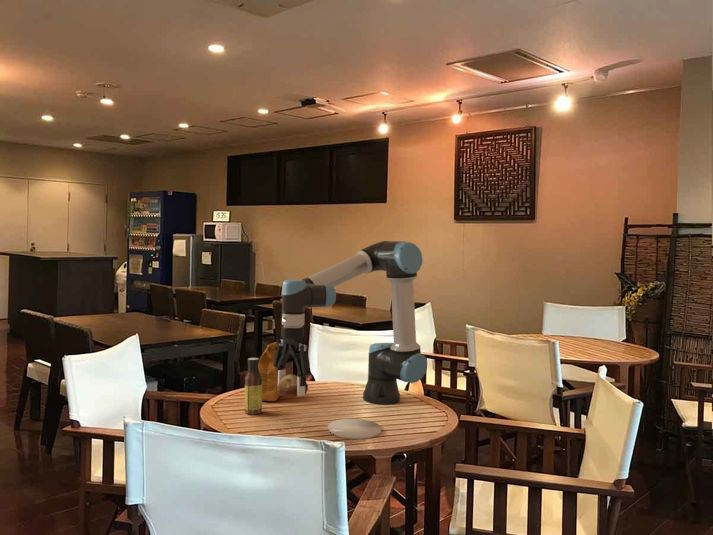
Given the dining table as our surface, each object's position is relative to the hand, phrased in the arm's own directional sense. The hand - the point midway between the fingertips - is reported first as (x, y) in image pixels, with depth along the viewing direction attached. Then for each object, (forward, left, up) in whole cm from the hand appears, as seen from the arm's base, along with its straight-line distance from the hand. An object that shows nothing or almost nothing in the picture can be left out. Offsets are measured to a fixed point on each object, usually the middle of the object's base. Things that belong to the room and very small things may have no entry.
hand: (291, 392), depth 201 cm
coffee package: (-17, -35, -13) cm, 41 cm away
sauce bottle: (-1, -23, -13) cm, 26 cm away
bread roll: (-1, 0, -1) cm, 1 cm away
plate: (-17, +14, -13) cm, 25 cm away
